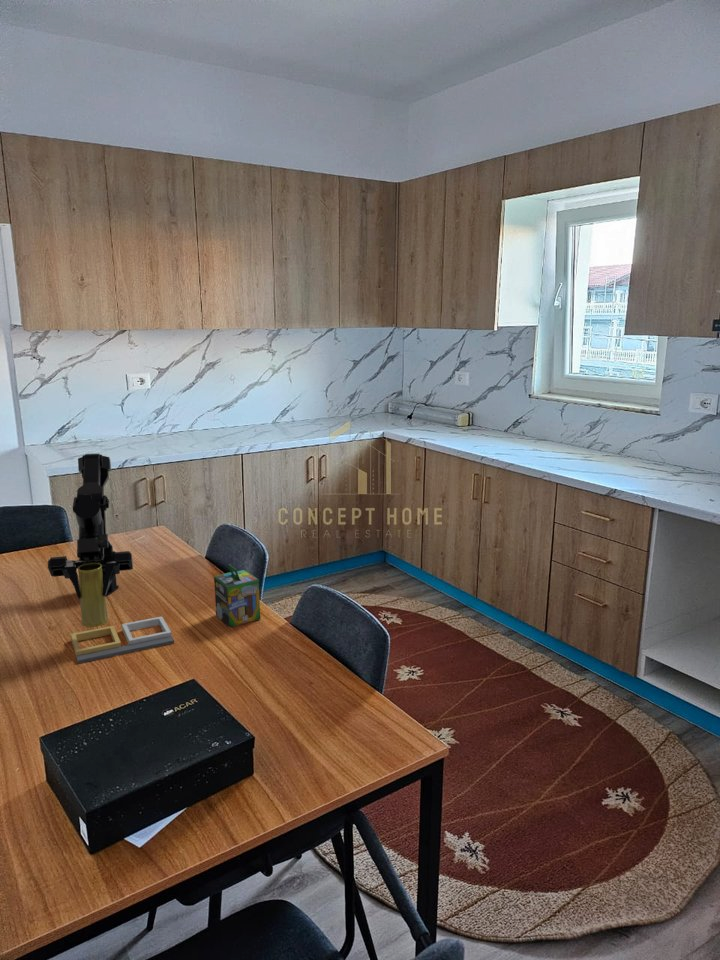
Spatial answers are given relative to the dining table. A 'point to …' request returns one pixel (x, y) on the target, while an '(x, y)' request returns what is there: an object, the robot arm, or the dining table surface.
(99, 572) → the vase
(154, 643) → the socket panel
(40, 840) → the dining table surface
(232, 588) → the chalk box
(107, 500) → the robot arm
